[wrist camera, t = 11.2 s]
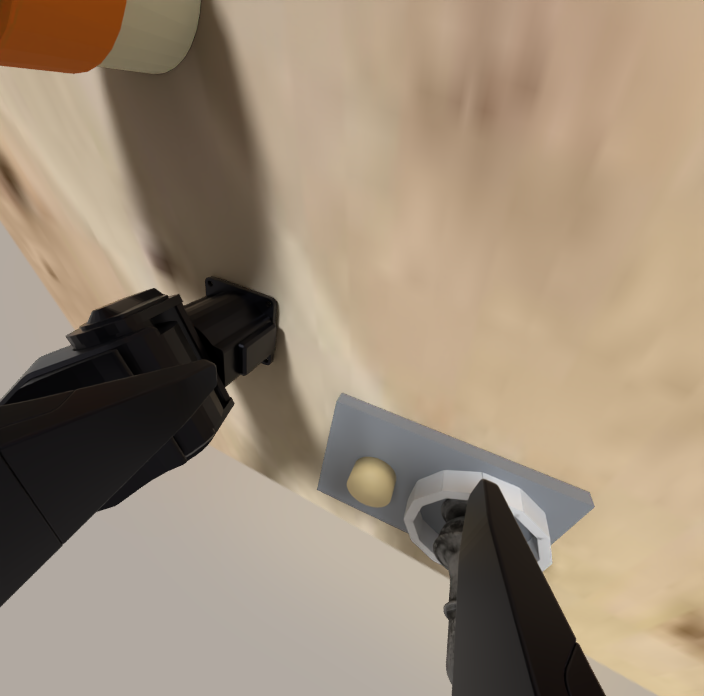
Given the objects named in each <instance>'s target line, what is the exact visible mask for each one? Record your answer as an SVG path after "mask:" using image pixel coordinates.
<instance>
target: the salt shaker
mask: <svg viewBox="0 0 704 696" xmlns="http://www.w3.org/2000/svg"><path fill="white" fill-rule="evenodd" d="M467 502H468V500H459V499H449V498H448V499H447V500H445V501H444V502H443V504H442V506H441V515H442V517H443V519H444V521H445V522H446V524H445V525H444V526H443V528H442V529H441V531H440V533H439V535H438V538H437V539H436V540H435V542H434V544H433V552H434V555H435V557H436V559H437V560H438V561H439V562H440V564H441V565H442V566H444V567H445V568H446V569H447V570H449V575H450V593H449V602H448V603H446V604H445V606H444V614H445V616H446V617H447V618H448V620H449V627H448V628H449V629H448V644H447V659H446V670H447V675H448V677H449V680H450V682H451V684H452V681H453V661H454V640H455V620H456V600H457V579H458V561H459V551H460V544H461V538H462V532H463V526H464V520H465V514H466V508H467Z"/></svg>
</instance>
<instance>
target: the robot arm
mask: <svg viewBox="0 0 704 696" xmlns="http://www.w3.org/2000/svg"><path fill="white" fill-rule="evenodd" d="M211 282H212V283H213V284H212V283H211ZM205 286H206V296H205V297H203V298H201V299H198V300H196V301H194V302H191V303H189V304H187V305H184V306H183V304H182V302H183V301H182V299H181V297H180V295H179V294H177V295H173V296H168V295H165V294H162V293H161V292H159V291H158V290H156V289H155V288H153V289H149V290H146V291H143V292H140V293H137V294H134V295H131V296H128V297H126V298H123V299H120V300H118V301H115V302H113V303H110V304H108V305H105V306H103V307H100V308H98V309H96V310H93V311H92V313H91V315H90V318H89V320H88V322H87V323H85V324H83V325H81V326H80V328H79V329H77V330H75V331H73V332H72V333H70V334H68V335H67V336H66V338H67V339H68V341H69V342H70V343H71V345H70V346H68V347H65V348H62V349H60V350H57V351H54V352H52V353H49V354H46V355H44V356H42V357H40V358H39V359H37V360H36V361H35V362H34V363H33V364H32V366H31V367H30V368H29V369H28V370H27V371H26V372H25V373H24V374H23V376H22V377H21V378H20V379H19V380H18V381H17V382H16V383H15V384H14V385H13V386H12V388H11V389H10V390H9V391H8V392H7V393H6V394H5V395H4V396H3V397H2V399H1V400H0V607H1V606H2V605H3V604H4V603H5V602H6V601H7V600H8V599H9V598H10V597H11V596H12V595H13V594H14V593H15V592H16V591H17V590H18V589H19V588H20V587H21V586H22V585H23V584H24V583H25V582H26V581H27V580H28V579H29V578H30V577H31V576H32V575H33V574H34V573H35V572H36V571H37V570H38V569H39V568H40V567H41V566H42V565H43V564H44V563H45V562H46V561H47V560H48V559H49V558H50V557H51V556H52V555H53V554H54V553H55V552H57V551H58V549H60V548H61V547H62V545H63V544H64V543H65V542H66V541H67V540H68V539H69V538H70V537H71V536H72V535H73V534H74V533H75V532H76V531H77V530H78V529H79V528H80V527H81V526H82V525H83V524H84V523H86V522H87V520H89V519H90V518H91V517H92V515H94V514H95V513H96V512H97V511H101V510H104V509H107V508H110V507H113V506H116V505H117V504H119V503H120V502H122V501H123V500H124V499H126V498H127V497H129V496H130V495H131V494H133V493H134V492H136V491H137V490H138V489H139V488H141V487H143V486H144V485H146V484H147V483H148V482H150V481H151V480H153V479H155V478H157V477H158V476H160V475H162V474H164V473H165V472H167V471H169V470H172V469H174V468H176V467H179V466H181V465H183V464H185V463H186V462H187V461H188V460H190V459H191V458H192V457H194V456H196V455H197V454H198V453H200V452H201V451H202V450H203V449H204V448H205V447H206V446H207V445H208V444H209V443H210V442H211V440H212V439H213V437H214V436H215V434H216V432H217V431H218V429H219V428H220V426H221V425H222V423H223V421H224V420H225V418H226V417H227V415H228V413H229V412H230V410H231V409H232V407H233V406H234V404H235V403H234V401H233V399H232V398H231V397H230V396H229V395H228V393H227V391H226V389H225V387H226V386H227V385H229V384H230V383H231V382H232V381H233V380H235V379H236V378H237V377H238V376H239V375H243V376H245V375H247V374H248V373H250V372H251V371H252V370H253V369H254V368H255V367H257V366H258V365H259V364H260V363H263V364H265V365H270V364H271V363H272V362H273V356H274V351H275V344H276V328H277V327H276V324H275V323H276V306H277V304H276V301H275V299H274V298H272V297H270V296H267V295H264V294H262V293H259V292H256V291H253V290H250V289H247V288H245V287H242V286H239V285H236V284H233V283H230V282H228V281H225V280H222V279H219V278H216V277H213V276H211V277H208V278H206V280H205ZM268 301H269V302H270V303H271V305H269V303H268ZM266 358H267V359H268V360H267V359H266ZM452 696H606V695H605V693H604V691H603V689H602V688H601V685H600V684H599V682H598V680H597V678H596V676H595V674H594V672H593V670H592V669H591V667H590V665H589V663H588V661H587V659H586V657H585V655H584V653H583V651H582V649H581V647H580V645H579V644H578V643H577V642H576V637H575V635H574V633H573V631H572V629H571V627H570V626H569V624H568V622H567V620H566V618H565V616H564V614H563V612H562V610H561V608H560V606H559V604H558V602H557V600H556V598H555V596H554V594H553V592H552V590H551V588H550V586H549V584H548V582H547V580H546V578H545V576H544V574H543V572H542V570H541V568H540V567H539V565H538V563H537V561H536V559H535V557H534V555H533V553H532V551H531V549H530V547H529V545H528V543H527V541H526V539H525V537H524V535H523V533H522V531H521V529H520V527H519V525H518V523H517V521H516V519H515V517H514V515H513V513H512V511H511V510H510V508H509V506H508V504H507V502H506V500H505V498H504V496H503V494H502V492H501V490H500V488H499V486H498V485H497V484H496V483H494V482H491V481H489V480H487V479H481V480H480V481H479V482H478V484H477V485H476V487H475V488H474V489H473V491H472V492H471V494H470V495H469V498H468V502H467V508H466V514H465V520H464V526H463V532H462V538H461V544H460V551H459V561H458V579H457V600H456V620H455V640H454V661H453V681H452Z"/></svg>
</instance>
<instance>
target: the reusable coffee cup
mask: <svg viewBox="0 0 704 696" xmlns="http://www.w3.org/2000/svg"><path fill="white" fill-rule="evenodd" d="M200 5H201V0H0V66H9V67H18V68H27V69H36V70H45V71H54V72H63V73H73V74H75V73H81V72H88V71H90V70H91V69H93V68H95V67H96V66H97V67H105V68H112V69H120V70H127V71H135V72H142V73H149V74H160V73H166V72H168V71H170V70H172V69H173V68H175V67H176V66H177V65H178V64H179V63H180V62H181V61H182V60H183V59H184V57H185V56H186V54H187V52H188V51H189V49H190V47H191V45H192V42H193V39H194V36H195V33H196V31H197V25H198V20H199V15H200Z"/></svg>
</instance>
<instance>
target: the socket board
mask: <svg viewBox="0 0 704 696" xmlns="http://www.w3.org/2000/svg"><path fill="white" fill-rule="evenodd" d="M481 479H487V480H489V481H491V482H494V483H496V484H497V485H498V486H499V488H500V490H501V492H502V494H503V496H504V498H505V500H506V502H507V504H508V506H509V508H510V510H511V511H512V513H513V515H514V517H515V519H516V521H517V523H518V525H519V527H520V529H521V531H522V533H523V535H524V537H525V539H526V541H527V543H528V545H529V547H530V549H531V551H532V553H533V555H534V557H535V559H536V561H537V563H538V565H539V567H540V568H541V570H542V572H543V571H544V570H545V569H546V568H548V567H549V566H550V565H551V564H552V553H551V545H552V544H553V543H554V542H555V541H556V540H557V539H558V538H560V537H561V536H562V535H563V534H564V533H565V532H566V531H568V530H569V529H570V528H571V527H572V526H573V525H574V524H576V523H577V522H578V521H579V520H580V519H581V518H583V517H584V516H585V515H586V514H587V513H588V512H589V511H591V510H592V509H593V508H594V507H595V506H594V503H593V501H592V498H591V495H590V492H587V491H585V490H582V489H580V488H577V487H575V486H572V485H570V484H567V483H565V482H562V481H560V480H557V479H555V478H552V477H550V476H547V475H545V474H543V473H540V472H538V471H535V470H533V469H530V468H528V467H525V466H523V465H520V464H518V463H515V462H513V461H510V460H508V459H505V458H503V457H500V456H498V455H495V454H493V453H490V452H488V451H485V450H483V449H480V448H478V447H475V446H473V445H470V444H468V443H465V442H463V441H460V440H458V439H456V438H453V437H451V436H448V435H446V434H443V433H441V432H438V431H436V430H433V429H431V428H428V427H426V426H423V425H421V424H418V423H416V422H413V421H411V420H408V419H406V418H403V417H401V416H398V415H396V414H393V413H391V412H388V411H386V410H383V409H381V408H378V407H376V406H373V405H371V404H369V403H366V402H364V401H361V400H359V399H356V398H354V397H351V396H349V395H346V394H344V393H342V394H341V395H340V397H339V398H338V400H337V402H336V406H335V411H334V415H333V420H332V424H331V429H330V433H329V438H328V442H327V447H326V452H325V456H324V461H323V465H322V470H321V474H320V479H319V483H318V488H317V490H318V491H321V492H323V493H325V494H327V495H329V496H331V497H333V498H335V499H337V500H339V501H341V502H344V503H346V504H348V505H350V506H352V507H354V508H356V509H358V510H360V511H362V512H364V513H366V514H369V515H371V516H373V517H375V518H377V519H379V520H381V521H383V522H385V523H387V524H389V525H392V526H394V527H396V528H398V529H400V530H402V531H404V532H406V533H408V534H409V536H410V539H411V541H412V542H413V543H414V544H415V545H416V546H418V547H419V548H420V549H421V550H422V551H423V552H424V553H425V554H426V555H427V556H428V557H429V558H430V559H431V560H433V561H434V562H436V563H438V564H440V562H439V561H438V560H437V559H436V557H435V555H434V552H433V544H434V542H435V540H436V539H437V538H438V535H439V533H440V531H441V529H442V528H443V526H444V525H445V524H446V522H445V521H444V519H443V517H442V515H441V506H442V504H443V502H444V501H445V500H447V499H448V498H449V499H459V500H468V498H469V495H470V494H471V492H472V491H473V489H474V488H475V487H476V485H477V484H478V482H479V481H480V480H481ZM440 565H441V564H440Z"/></svg>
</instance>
